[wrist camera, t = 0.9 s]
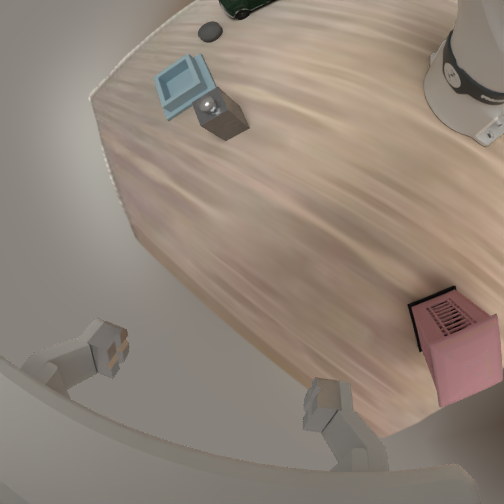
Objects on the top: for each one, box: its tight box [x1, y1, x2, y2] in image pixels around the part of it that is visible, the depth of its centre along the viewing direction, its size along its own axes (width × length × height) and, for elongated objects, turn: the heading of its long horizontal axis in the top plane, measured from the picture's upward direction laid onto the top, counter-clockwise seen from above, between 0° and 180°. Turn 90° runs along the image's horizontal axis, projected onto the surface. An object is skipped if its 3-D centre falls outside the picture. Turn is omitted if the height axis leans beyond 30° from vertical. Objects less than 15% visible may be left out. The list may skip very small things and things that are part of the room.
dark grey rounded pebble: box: [198, 22, 223, 43], centre depth 49 cm, size 5×5×2 cm
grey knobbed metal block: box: [192, 87, 249, 141], centre depth 45 cm, size 5×5×10 cm
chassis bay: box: [153, 54, 216, 121], centre depth 51 cm, size 12×11×4 cm
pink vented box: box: [408, 286, 503, 407], centre depth 30 cm, size 9×9×20 cm
